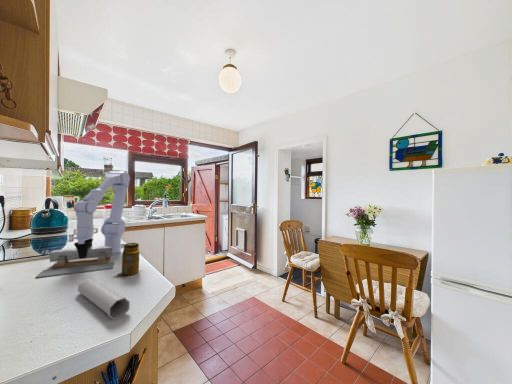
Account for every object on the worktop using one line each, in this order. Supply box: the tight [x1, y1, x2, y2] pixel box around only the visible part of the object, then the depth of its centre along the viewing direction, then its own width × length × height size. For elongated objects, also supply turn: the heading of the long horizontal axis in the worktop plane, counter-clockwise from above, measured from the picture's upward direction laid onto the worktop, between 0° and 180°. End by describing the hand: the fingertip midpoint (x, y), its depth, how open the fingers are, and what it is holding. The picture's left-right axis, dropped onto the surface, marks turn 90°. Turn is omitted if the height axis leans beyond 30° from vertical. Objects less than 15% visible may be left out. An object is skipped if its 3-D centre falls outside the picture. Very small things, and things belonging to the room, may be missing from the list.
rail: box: [49, 245, 114, 263], centre depth 97 cm, size 4×22×4 cm, turn 120°
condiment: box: [113, 242, 144, 279], centre depth 86 cm, size 7×8×12 cm
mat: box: [34, 261, 115, 279], centre depth 89 cm, size 8×24×1 cm, turn 120°
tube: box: [77, 277, 131, 321], centre depth 64 cm, size 5×5×25 cm
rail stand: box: [50, 253, 112, 269], centre depth 97 cm, size 8×20×4 cm, turn 120°
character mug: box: [72, 224, 99, 247], centre depth 122 cm, size 11×7×13 cm, turn 125°
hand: (83, 256), depth 97 cm, fingers open, 5 cm apart
